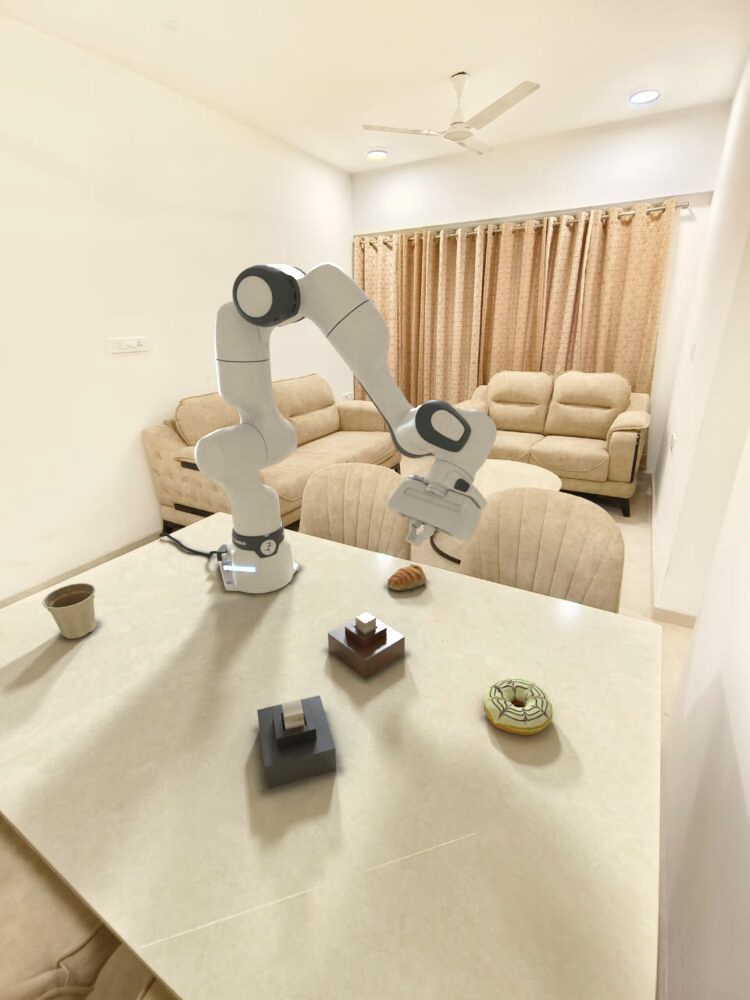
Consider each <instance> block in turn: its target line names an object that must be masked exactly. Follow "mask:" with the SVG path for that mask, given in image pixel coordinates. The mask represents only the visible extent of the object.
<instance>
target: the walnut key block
mask: <svg viewBox="0 0 750 1000" xmlns="http://www.w3.org/2000/svg"><path fill="white" fill-rule="evenodd" d="M327 642H328V643H327V644H328V652H330V653H331V654H332V655H334V656H335V657H336V658H337V659H339V660H340V661H342V663H344V664H345V665H347V666H348V667H349V668H351V669H352V670H353V671H355V673H357V674H358V675H360V676H361V677H362V678H363V679H365V680H367V679H369V678H370V677H372V676H374V675H375V674H377V673H379V672H380V671H381V670H383V669H385V668H386V667H387V666H389V665H391V664H392V663H394V662H396V661H397V660H399V659H400V658H402V657H403V656H405V654H406V653H405V652H406V651H405V650H406V648H405V647H406V643H405V642H406V636H404V635H403V634H401V632H398V631H397V630H395V629H393V628H392V627H390V626H389V625H387V624H386V623H384V622H382V621H381V620H379V619H377V618H376V629H374V630H372V631H371V632H369V633H367V634H363V633H362V632H361V631H359V630H358V629H356V621H355V618H353V619H352V620H349V621H348V622H346V623H344V624H342V625H340V626H338V627H336V628H334V629H333V630H331V631H329V632H327Z"/></svg>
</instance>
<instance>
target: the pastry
mask: <svg viewBox="0 0 750 1000" xmlns="http://www.w3.org/2000/svg"><path fill="white" fill-rule="evenodd" d="M425 582H427V577H426V574H425V572H424V570H423V568H422V567H421V565H418V564H413V563H411V564H410V565H408V566H404V567H400V568H399V569H398V570H396V571H395V572H394V573H393V574H391V576H390V577H389V578H388V579H387V587H388V588H389V589H391V590H394V591H398V592H400V591H401V592H402V591H403V592H404V591H405V590H411V589H412V590H413V589H415V588H417V587H421V586H423V585H424V584H425Z"/></svg>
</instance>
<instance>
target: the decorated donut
mask: <svg viewBox="0 0 750 1000" xmlns="http://www.w3.org/2000/svg"><path fill="white" fill-rule="evenodd" d="M518 706H519V707H518ZM553 710H554V709H553V704H552V702H551V700H550V698H549V696H548V694H547V692H546V691H545V690H544V688H542V687H541V686H539V685H537V684H536V683H534V682H532V681H529V680H526V679H523V678H520V677H514V678H504V679H502V680H499V681H497V682H495V683H493V684H491V685H489V687H488V688H486V690H485V692H484V696H483V711H484V713H485V717H486V719H488V720H489V721H490V723H491V724H492V725H493V726H494V727H496V728H497V729H499V730H501V731H505V732H506V733H512V734H516V735H522V736H531V735H534V734H537V733H540V732H541V731H543V730H544V729H545V728H546V727H547V726H548V725H549V724H550V723H551V722H552V719H553V715H554V711H553Z"/></svg>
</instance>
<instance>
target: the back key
mask: <svg viewBox="0 0 750 1000" xmlns="http://www.w3.org/2000/svg"><path fill="white" fill-rule="evenodd" d="M354 619H355V621H356V629H358V630H359V631H361V632H362V633H363V634H367V633H369V632H371V631H372V630H374V629H376V619H377V617H375V616H374V615H372V614H371V613H369V612H368V611H365V612H363V613H361V614H358V615H357V616H355V617H354Z"/></svg>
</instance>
